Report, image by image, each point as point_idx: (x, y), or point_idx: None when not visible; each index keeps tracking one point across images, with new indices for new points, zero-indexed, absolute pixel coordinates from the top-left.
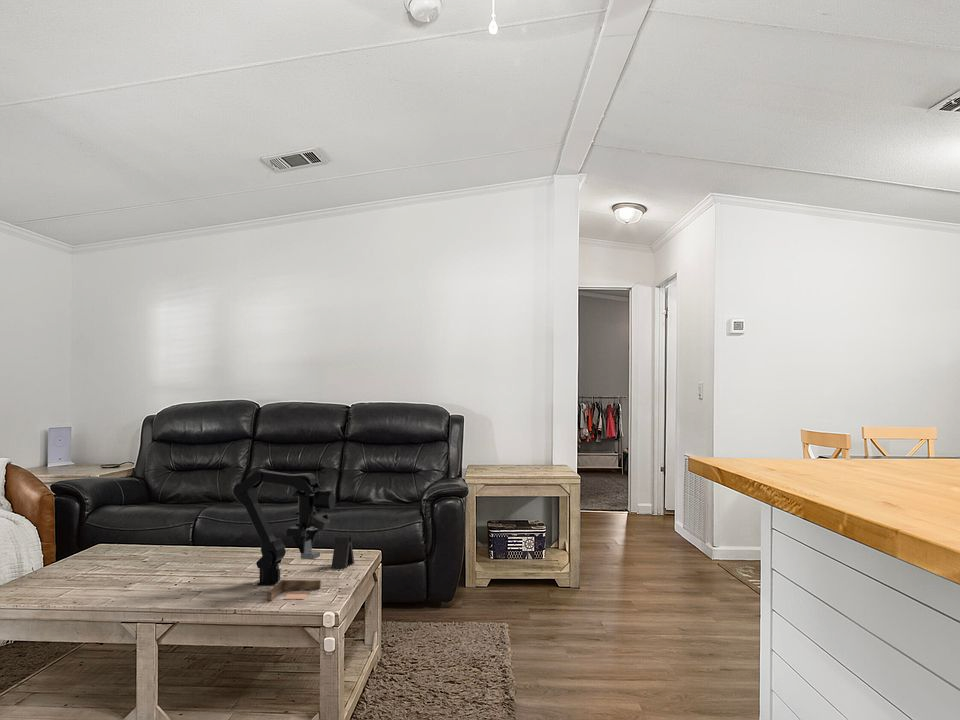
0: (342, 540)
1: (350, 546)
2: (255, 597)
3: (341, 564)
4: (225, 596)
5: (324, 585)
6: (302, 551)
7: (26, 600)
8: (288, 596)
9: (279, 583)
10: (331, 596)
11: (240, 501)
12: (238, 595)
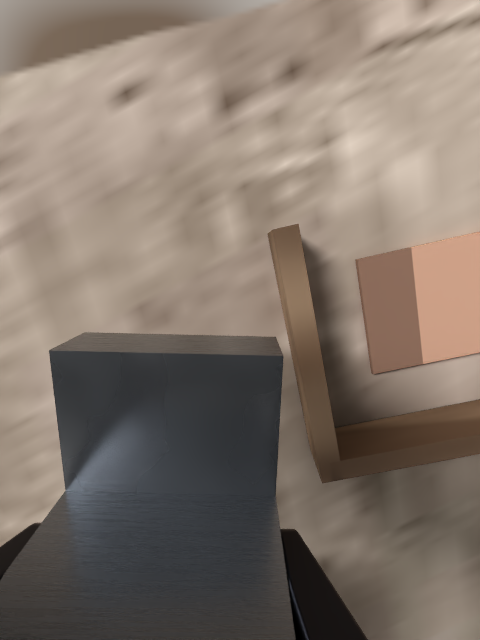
0: None
1: None
2: (472, 494)
3: None
4: (466, 615)
5: (196, 242)
6: (309, 566)
7: None
8: (465, 338)
9: (396, 460)
10: (416, 70)
11: None
12: (447, 576)
